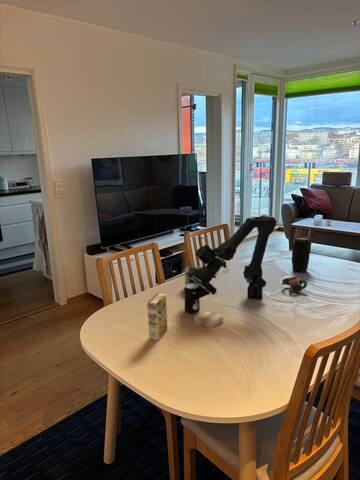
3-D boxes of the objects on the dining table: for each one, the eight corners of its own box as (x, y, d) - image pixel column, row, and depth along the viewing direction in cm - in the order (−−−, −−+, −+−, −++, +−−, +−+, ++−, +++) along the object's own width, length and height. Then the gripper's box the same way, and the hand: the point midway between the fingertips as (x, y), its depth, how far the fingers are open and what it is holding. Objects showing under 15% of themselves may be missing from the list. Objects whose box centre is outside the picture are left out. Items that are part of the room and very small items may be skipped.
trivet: (225, 315, 154) (225, 313, 153) (219, 328, 143) (219, 327, 142) (198, 312, 157) (198, 310, 157) (190, 324, 146) (190, 323, 146)
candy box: (158, 340, 135) (157, 303, 131) (148, 338, 136) (146, 301, 132) (167, 329, 143) (166, 294, 139) (158, 328, 144) (156, 292, 140)
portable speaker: (288, 268, 209) (290, 236, 204) (303, 267, 210) (306, 235, 205) (295, 273, 201) (297, 239, 196) (311, 272, 202) (313, 239, 197)
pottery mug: (283, 295, 174) (279, 279, 176) (284, 296, 182) (281, 280, 184) (309, 291, 170) (305, 274, 172) (309, 292, 179) (305, 276, 181)
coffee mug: (195, 293, 177) (195, 274, 174) (181, 288, 184) (181, 269, 181) (213, 286, 186) (213, 267, 183) (199, 281, 193) (199, 263, 190)
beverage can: (189, 315, 154) (188, 289, 151) (182, 309, 160) (181, 284, 157) (202, 312, 157) (202, 286, 154) (194, 306, 163) (194, 281, 160)
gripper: (189, 253, 162) (168, 280, 161) (210, 265, 146) (186, 295, 144) (205, 267, 168) (184, 293, 166) (226, 280, 151) (203, 309, 150)
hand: (189, 297), depth 156 cm, fingers closed on beverage can, 6 cm apart
